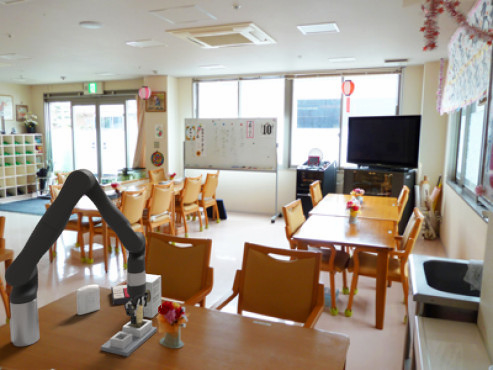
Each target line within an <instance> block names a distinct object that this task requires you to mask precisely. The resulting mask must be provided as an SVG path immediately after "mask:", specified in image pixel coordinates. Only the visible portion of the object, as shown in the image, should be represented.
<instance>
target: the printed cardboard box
mask: <svg viewBox="0 0 493 370" xmlns="http://www.w3.org/2000/svg"><path fill="white" fill-rule="evenodd" d="M110 290H111V292H110V293H111V299H112V305H113V306H115V305H124V304H125V303H128V302H129V295H128V294H127V284H122V285H121V284H120V285H113V286H111V289H110Z"/></svg>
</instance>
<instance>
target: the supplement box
mask: <svg viewBox="0 0 493 370" xmlns="http://www.w3.org/2000/svg"><path fill="white" fill-rule="evenodd" d="M146 292H149V295H148V302H147V306H146V307H145V309H144V318H145V317H146V318H149V319H153V318H154V317H155V316H156V315H157V314H158V313H159V312H158V307H159V306H160V305H161V306H162V275H157V274H148V273H146ZM144 303H145V301H144Z"/></svg>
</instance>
